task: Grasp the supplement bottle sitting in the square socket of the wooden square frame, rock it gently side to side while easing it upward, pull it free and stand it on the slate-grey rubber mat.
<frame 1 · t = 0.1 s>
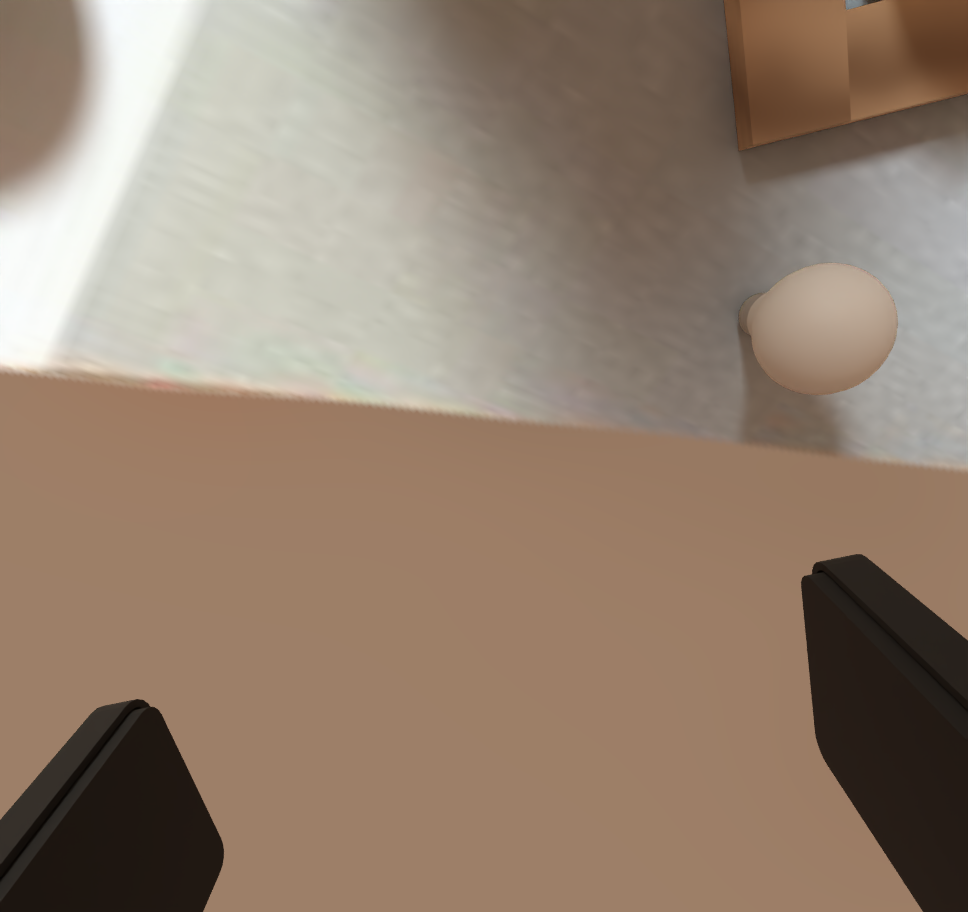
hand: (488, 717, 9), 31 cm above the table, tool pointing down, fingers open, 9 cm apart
lightbulb: (753, 313, 38), on the table
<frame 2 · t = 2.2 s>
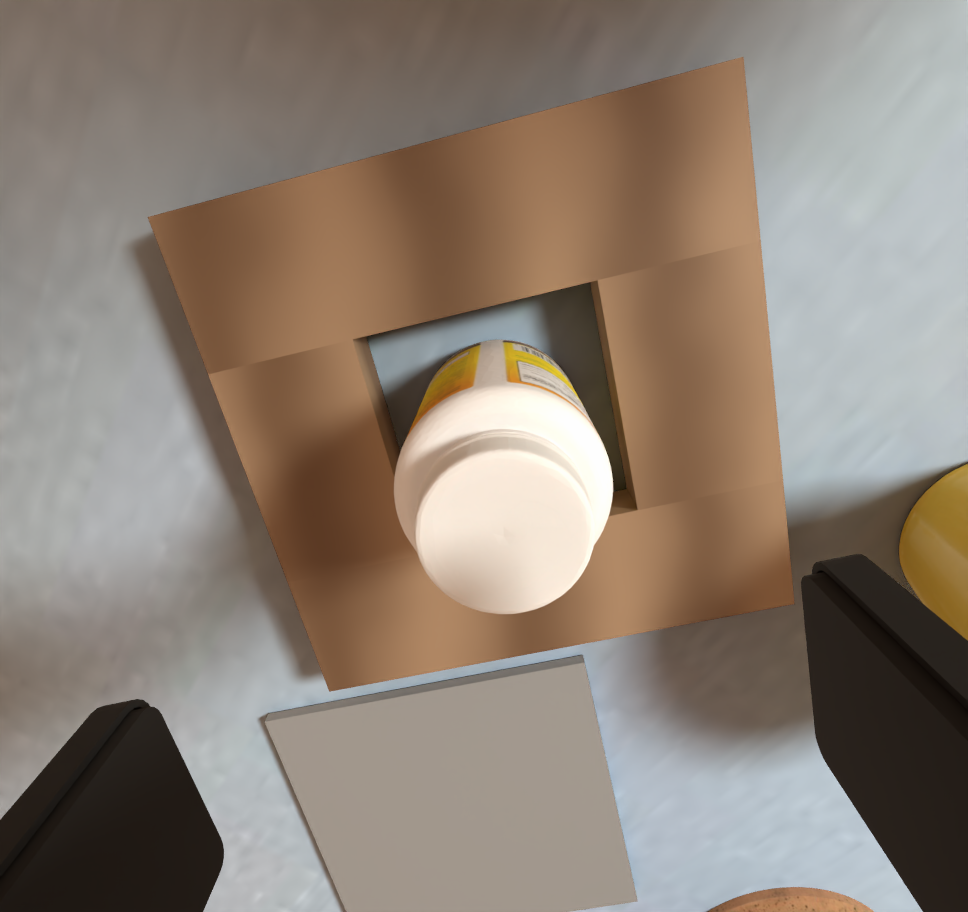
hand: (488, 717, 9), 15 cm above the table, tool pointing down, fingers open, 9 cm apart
grey mat: (461, 807, 30), on the table
wooden square frame: (500, 412, 23), on the table
supplement bottle: (500, 411, 24), resting in wooden square frame
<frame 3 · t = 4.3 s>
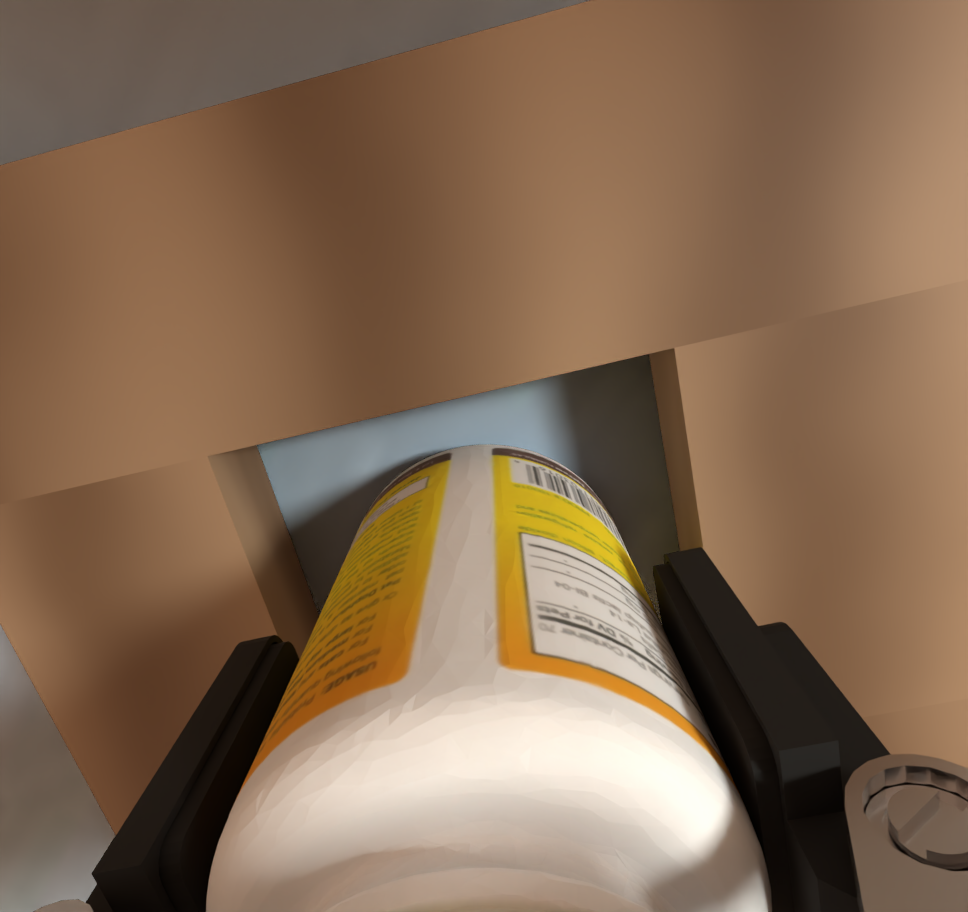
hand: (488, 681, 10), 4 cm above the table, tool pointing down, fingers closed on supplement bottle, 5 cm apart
wooden square frame: (489, 559, 14), on the table
supplement bottle: (489, 554, 14), resting in wooden square frame, touching gripper
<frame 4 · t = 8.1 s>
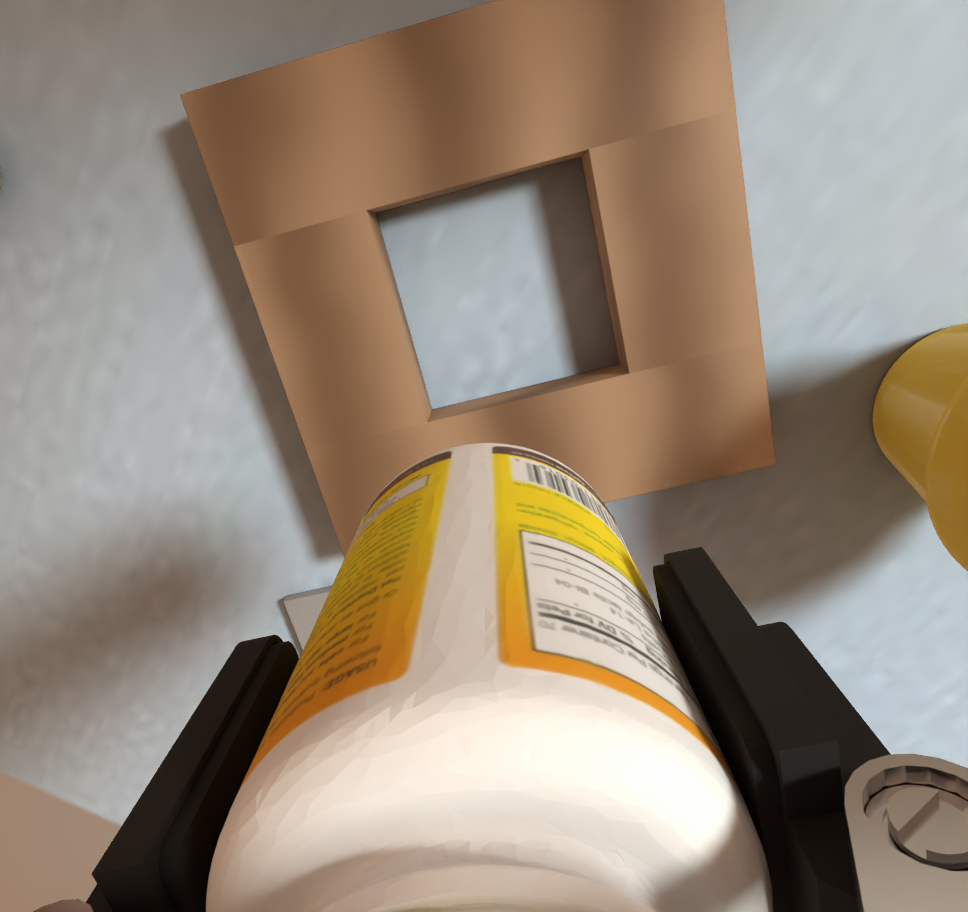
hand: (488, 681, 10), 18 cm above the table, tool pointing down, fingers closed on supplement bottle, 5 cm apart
grey mat: (469, 687, 31), on the table
plant pot: (945, 403, 27), on the table
wooden square frame: (501, 291, 25), on the table
supplement bottle: (489, 553, 14), point 14 cm above the table, touching gripper
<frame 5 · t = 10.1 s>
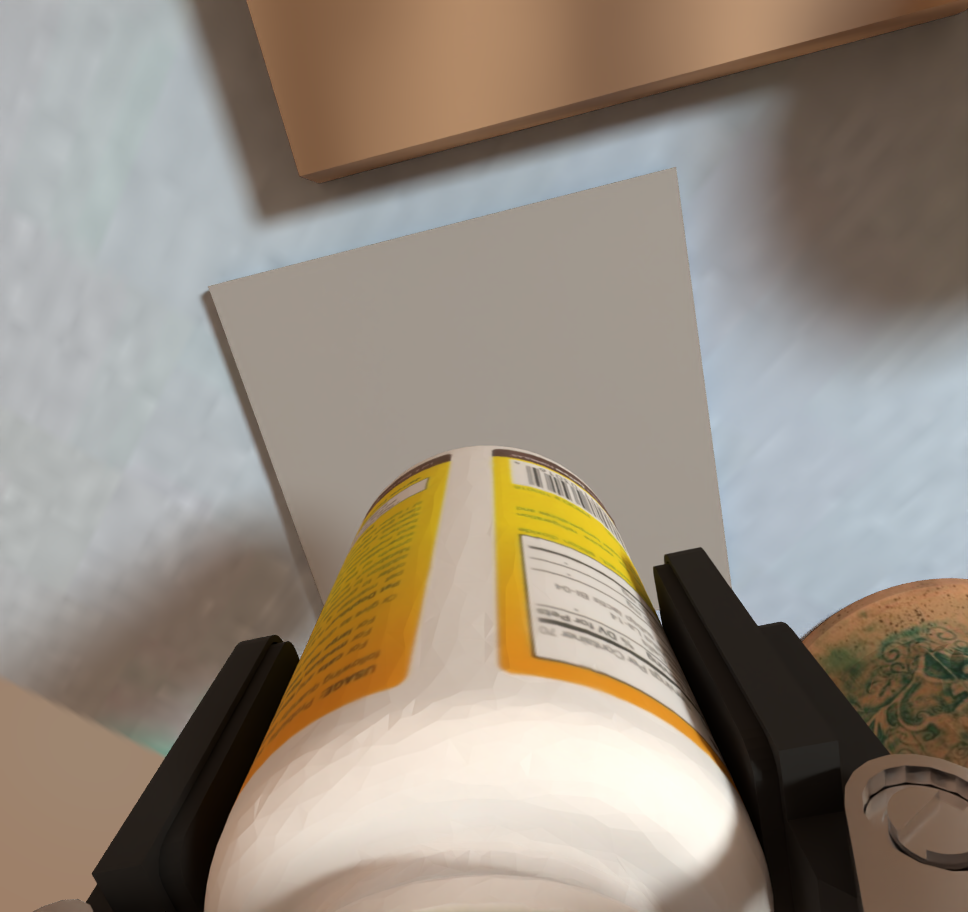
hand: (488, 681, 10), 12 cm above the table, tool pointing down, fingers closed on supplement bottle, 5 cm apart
grey mat: (490, 447, 21), on the table
mug: (931, 766, 25), on the table
supplement bottle: (489, 556, 14), point 8 cm above the table, touching gripper
when the fingers open (5 cm above the table, at t = 12.0 s): supplement bottle stays where it is, resting on grey mat.
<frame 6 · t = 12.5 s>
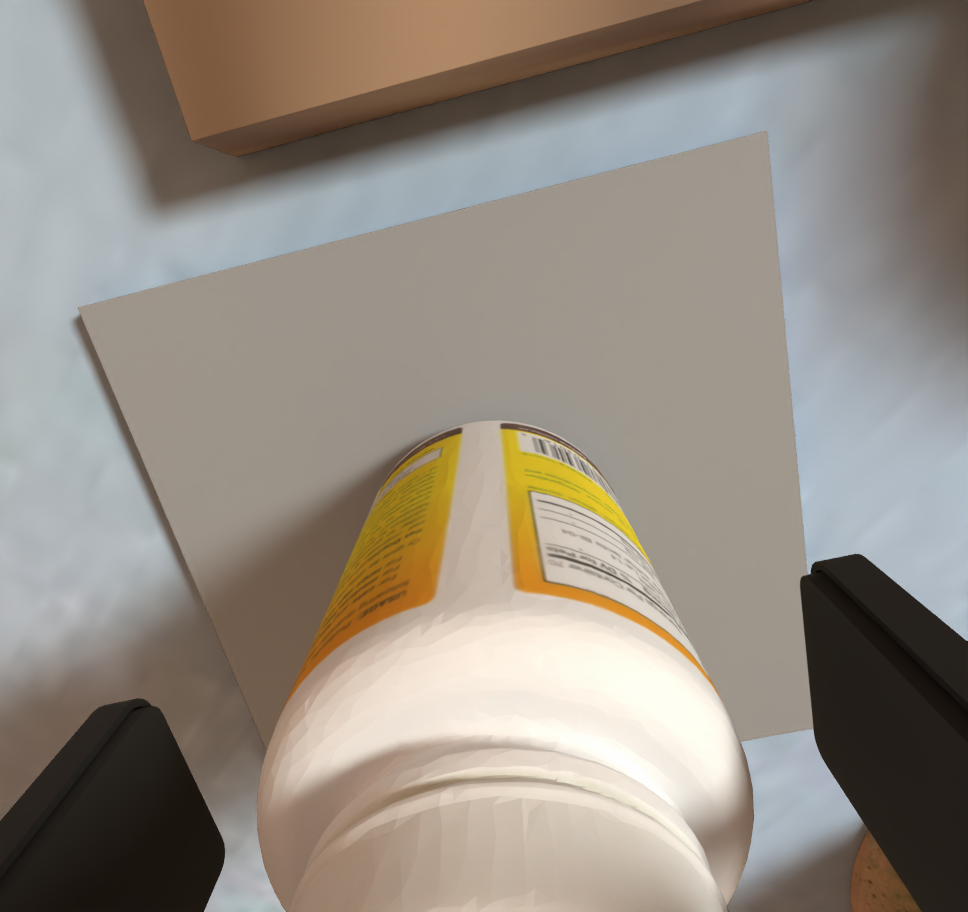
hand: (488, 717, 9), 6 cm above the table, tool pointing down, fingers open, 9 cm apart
grey mat: (488, 530, 15), on the table
supplement bottle: (496, 527, 15), resting on grey mat
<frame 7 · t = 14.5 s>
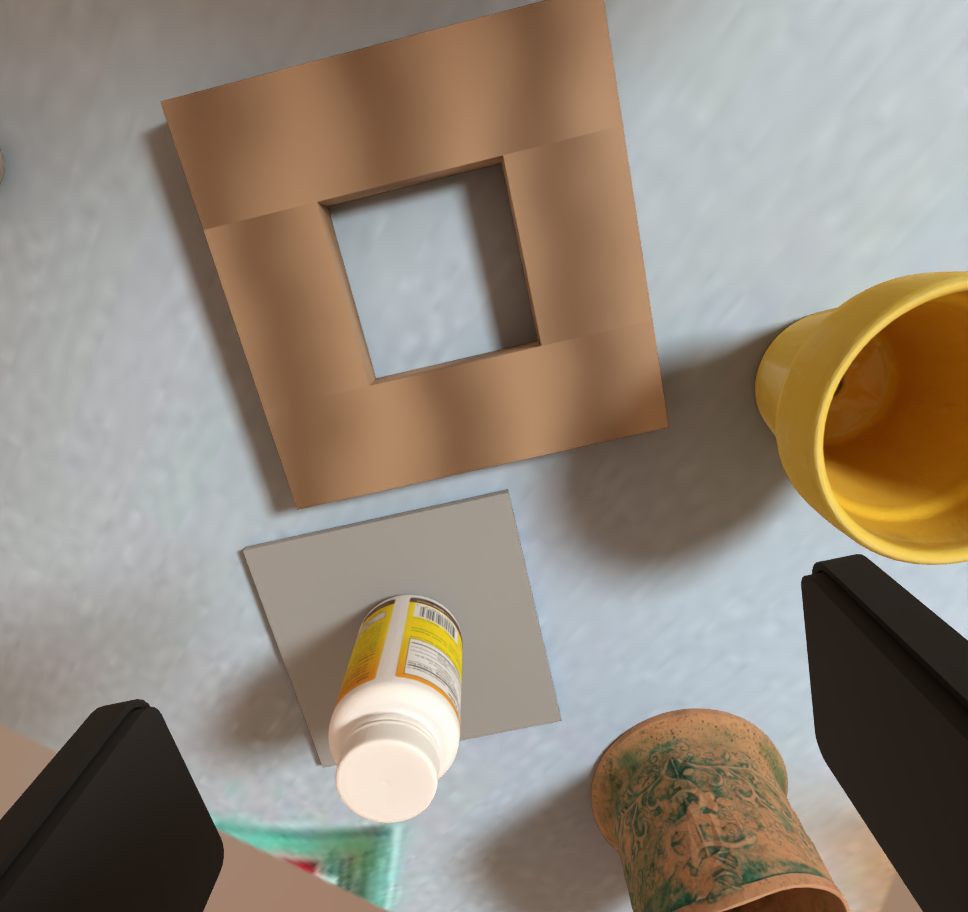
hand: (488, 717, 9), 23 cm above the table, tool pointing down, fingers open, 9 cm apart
grey mat: (410, 634, 35), on the table
plant pot: (817, 380, 31), on the table
wooden square frame: (435, 275, 29), on the table
mug: (703, 823, 39), on the table
supplement bottle: (412, 633, 34), resting on grey mat
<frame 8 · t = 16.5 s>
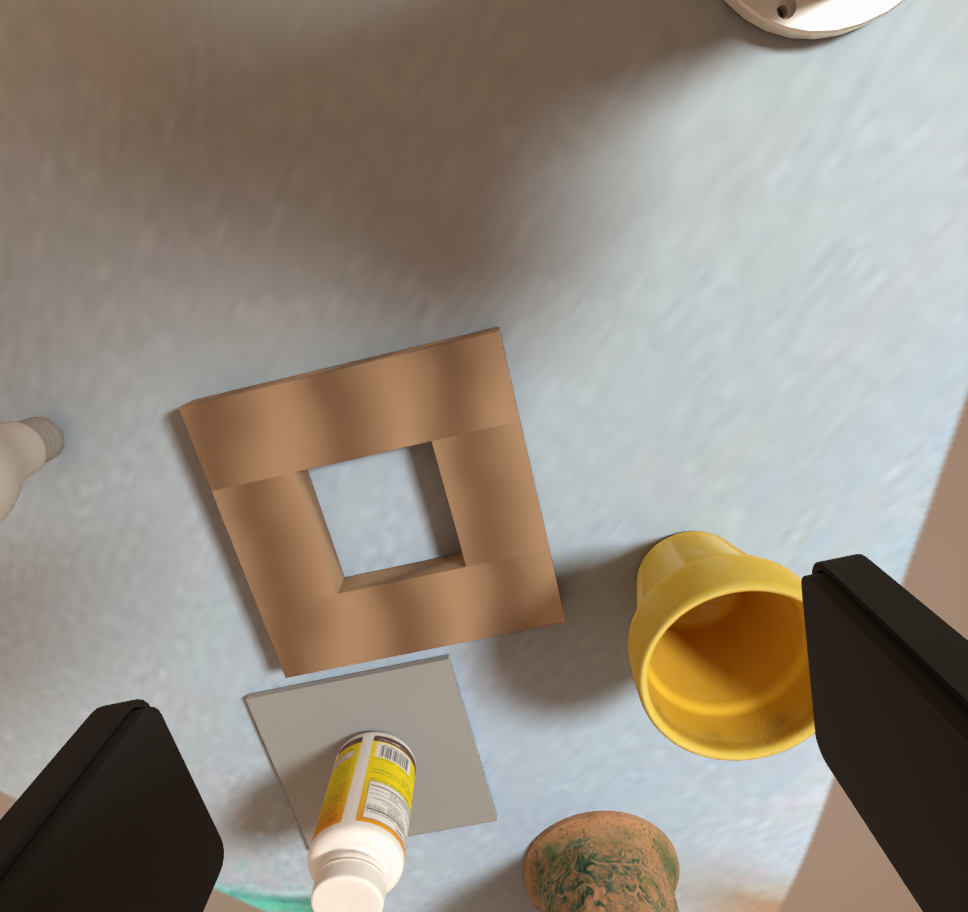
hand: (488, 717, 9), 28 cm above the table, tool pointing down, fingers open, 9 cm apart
grey mat: (376, 756, 45), on the table
lightbulb: (53, 433, 38), on the table
plant pot: (685, 577, 40), on the table
wooden square frame: (387, 507, 39), on the table
mug: (614, 894, 49), on the table
supplement bottle: (378, 757, 44), resting on grey mat
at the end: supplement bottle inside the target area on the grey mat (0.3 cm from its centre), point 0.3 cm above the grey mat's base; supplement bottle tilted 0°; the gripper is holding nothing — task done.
